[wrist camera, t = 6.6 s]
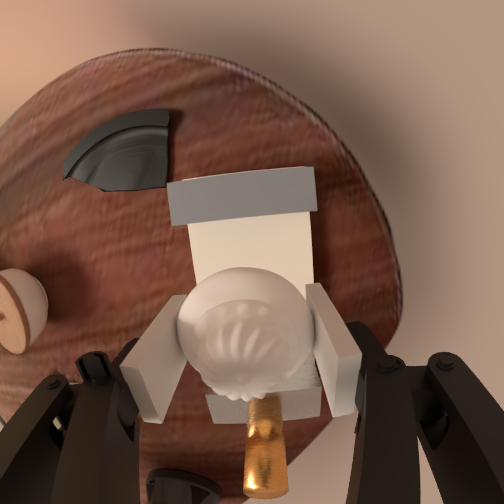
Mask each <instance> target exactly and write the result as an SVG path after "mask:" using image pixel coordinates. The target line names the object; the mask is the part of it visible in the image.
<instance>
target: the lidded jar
mask: <svg viewBox="0 0 504 504" xmlns="http://www.w3.org/2000/svg"><path fill="white" fill-rule="evenodd" d="M47 315H48V298H47V294H46V292H45V289H44V287H43V286H42V284H41V283H40V282H39V281H38V279H36V278H35V277H33V276H31V275H30V274H29V273H27V272H25V271H23V270H20V269H5V270H1V271H0V343H1V344H2V345H3V346H4V347H5V348H6V349H7V350H9V351H10V352H13V353H16V354H21V353H23V352H24V351H25V350H26V349H27V348H28V347H29V346H30V345H31V344H32V343H33V342H34V341H35V340H36V339H37V338H38V337H39V336H40V334H41V333H42V331H43V329H44V327H45V325H46V321H47Z"/></svg>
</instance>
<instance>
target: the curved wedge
mask: <svg viewBox="0 0 504 504" xmlns="http://www.w3.org/2000/svg"><path fill="white" fill-rule="evenodd" d="M169 116H170V114H169V111H167V110H142V111H135V112H131V113H127V114H123V115H120V116H118V117H115V118H113V119H111V120H109V121H107V122H105V123H103V124H102V125H100V126H98V127H97V128H96V129H94V130H93V131H91V132H90V133H89V134H88V135H86V136H85V137H84V138H83V139H82V140H81V141H80V142H79V143H78V144H77V145H76V146H75V147H74V148H73V149H72V150H71V152H70V153H69V154H68V156H67V157H66V158H65V160H64V161H63V181H64V179H67V178H68V177H72V178H75V179H78V180H80V181H82V182H85V183H89V184H91V185H93V186H95V187H97V188H99V189H100V190H102V191H103V192H114V191H137V190H145V189H153V188H166V187H167V180H168V175H169V162H170V152H169V139H168V133H169V125H170V117H169Z"/></svg>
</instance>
